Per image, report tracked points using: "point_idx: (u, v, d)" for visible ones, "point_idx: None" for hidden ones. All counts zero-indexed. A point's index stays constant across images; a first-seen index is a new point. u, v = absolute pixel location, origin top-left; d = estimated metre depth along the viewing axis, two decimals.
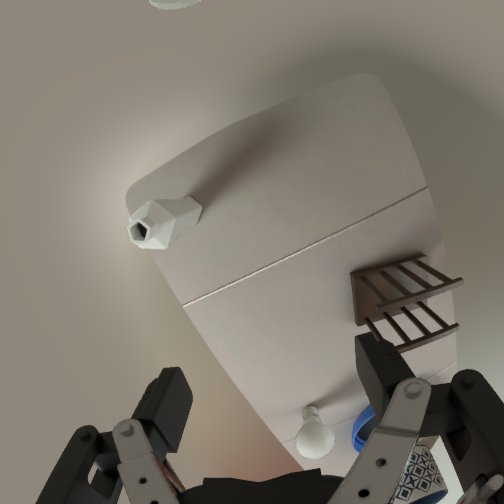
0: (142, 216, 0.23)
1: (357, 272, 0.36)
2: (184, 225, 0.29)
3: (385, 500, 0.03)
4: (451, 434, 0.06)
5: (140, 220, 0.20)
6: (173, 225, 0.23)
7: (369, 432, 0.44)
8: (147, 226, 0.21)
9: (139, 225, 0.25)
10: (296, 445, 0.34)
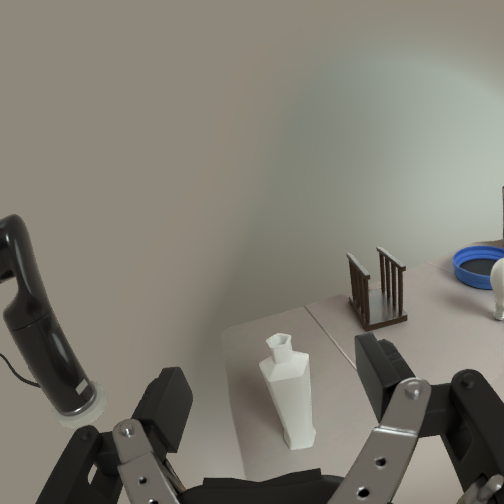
0: (270, 363, 0.23)
1: (364, 326, 0.44)
2: None
3: (385, 500, 0.03)
4: (451, 434, 0.06)
5: (269, 338, 0.23)
6: None
7: None
8: (276, 334, 0.23)
9: (283, 391, 0.22)
10: None
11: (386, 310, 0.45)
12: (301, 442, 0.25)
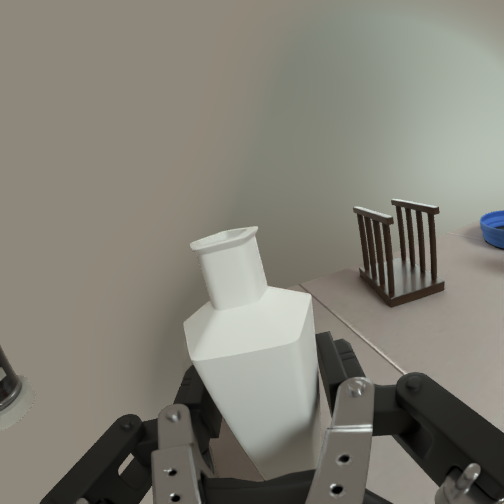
0: (205, 312, 0.09)
1: (387, 300, 0.30)
2: None
3: (361, 491, 0.04)
4: (407, 436, 0.07)
5: (199, 240, 0.09)
6: None
7: None
8: (219, 233, 0.09)
9: (243, 395, 0.07)
10: None
11: (414, 278, 0.31)
12: None
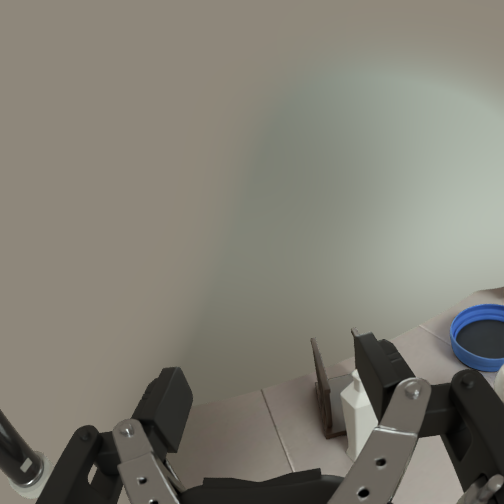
0: (353, 392, 0.24)
1: (325, 432, 0.32)
2: None
3: (385, 500, 0.03)
4: (451, 434, 0.06)
5: (353, 372, 0.24)
6: None
7: None
8: None
9: (364, 414, 0.23)
10: None
11: None
12: None
